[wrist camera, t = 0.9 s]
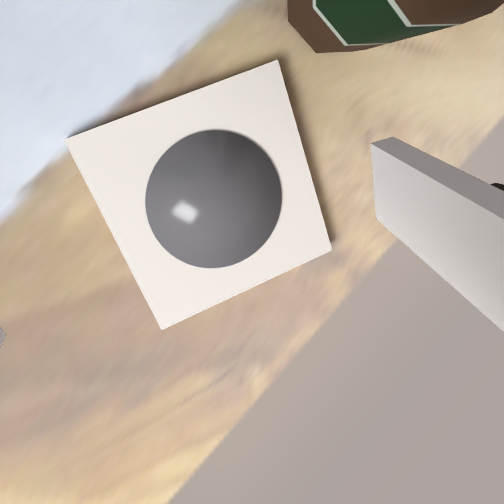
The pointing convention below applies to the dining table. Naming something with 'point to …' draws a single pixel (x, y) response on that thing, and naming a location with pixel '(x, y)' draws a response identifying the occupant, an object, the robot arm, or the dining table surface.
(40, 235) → the dining table surface
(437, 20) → the beer bottle
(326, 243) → the tile
